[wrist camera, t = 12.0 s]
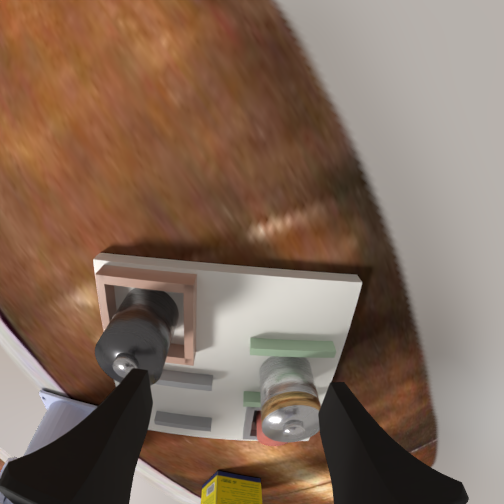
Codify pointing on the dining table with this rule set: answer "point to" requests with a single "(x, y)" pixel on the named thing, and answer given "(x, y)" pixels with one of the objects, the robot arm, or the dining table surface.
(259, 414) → the button
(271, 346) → the tester board
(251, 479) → the supplement box
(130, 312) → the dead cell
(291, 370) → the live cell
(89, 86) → the dining table surface
